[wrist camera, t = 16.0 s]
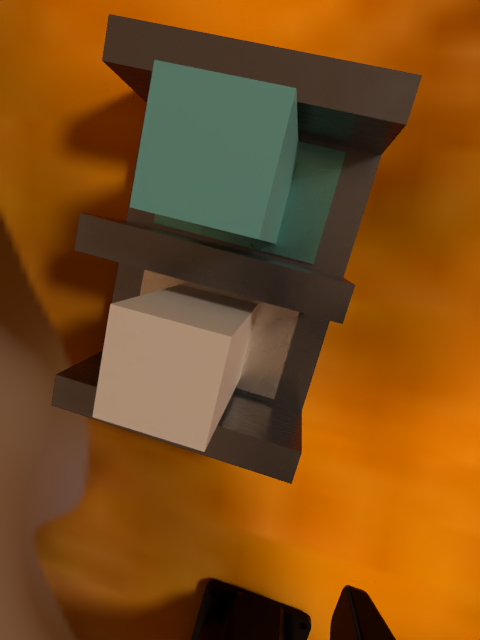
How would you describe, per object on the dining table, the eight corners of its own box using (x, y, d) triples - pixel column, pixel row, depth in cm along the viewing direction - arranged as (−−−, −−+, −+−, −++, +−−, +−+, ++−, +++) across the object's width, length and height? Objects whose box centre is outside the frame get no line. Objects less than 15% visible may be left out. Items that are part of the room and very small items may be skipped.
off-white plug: (257, 304, 18) (231, 337, 11) (239, 379, 19) (204, 451, 12) (180, 284, 19) (110, 303, 12) (165, 358, 19) (92, 417, 13)
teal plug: (298, 154, 17) (296, 87, 10) (275, 243, 17) (258, 239, 11) (213, 135, 17) (154, 59, 10) (195, 223, 18) (129, 207, 11)
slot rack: (287, 447, 20) (283, 509, 16) (104, 389, 22) (47, 430, 17) (396, 96, 17) (435, 32, 12) (165, 49, 18) (114, -27, 13)
